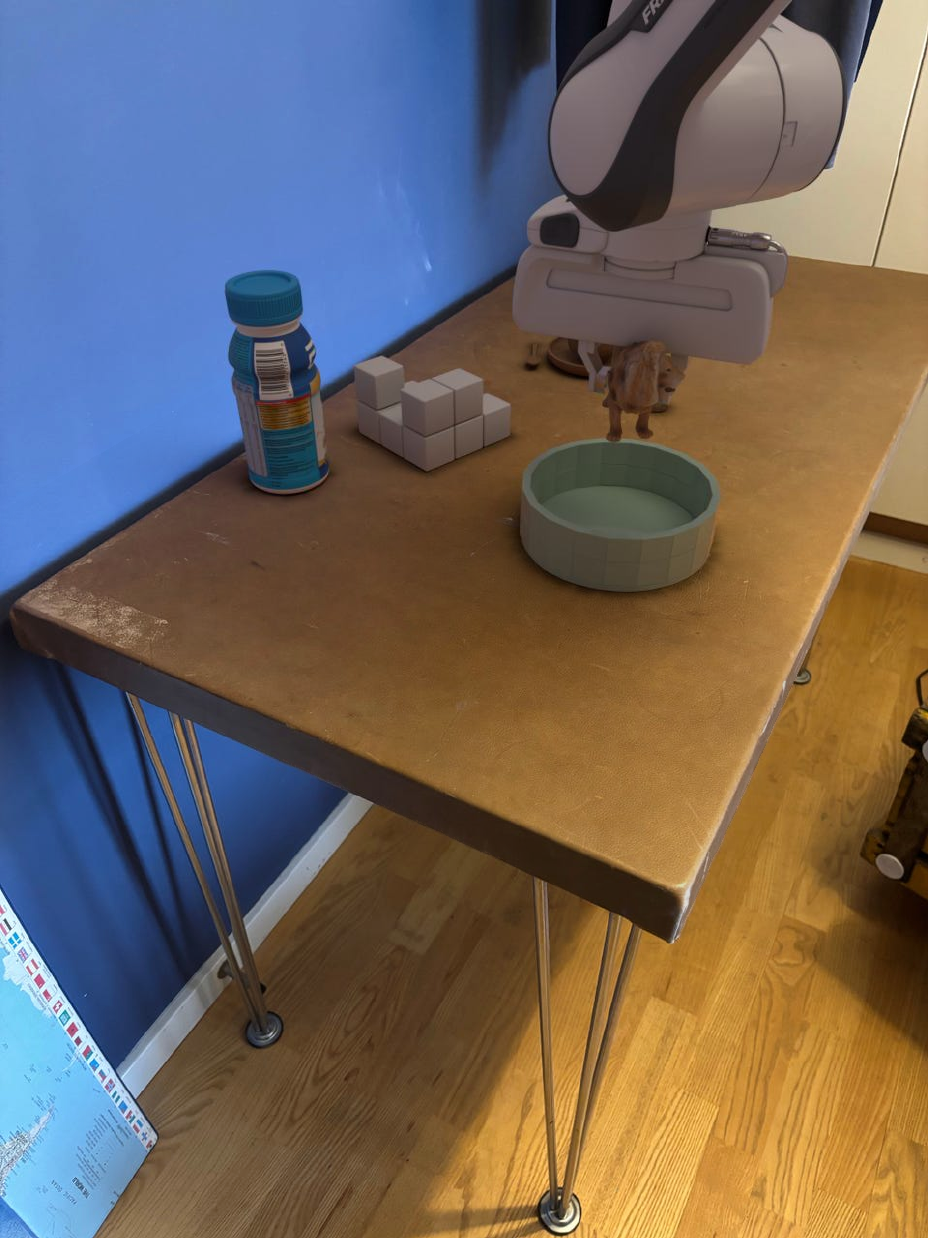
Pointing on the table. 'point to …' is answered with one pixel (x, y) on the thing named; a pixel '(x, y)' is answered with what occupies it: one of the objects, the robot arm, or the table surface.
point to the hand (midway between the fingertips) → (629, 395)
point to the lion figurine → (638, 384)
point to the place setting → (577, 359)
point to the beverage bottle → (276, 383)
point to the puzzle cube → (427, 413)
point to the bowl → (618, 514)
